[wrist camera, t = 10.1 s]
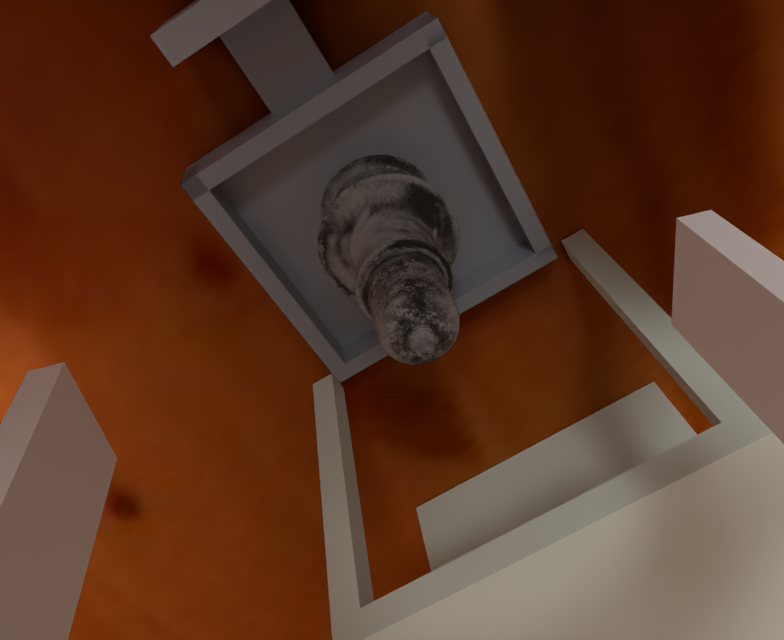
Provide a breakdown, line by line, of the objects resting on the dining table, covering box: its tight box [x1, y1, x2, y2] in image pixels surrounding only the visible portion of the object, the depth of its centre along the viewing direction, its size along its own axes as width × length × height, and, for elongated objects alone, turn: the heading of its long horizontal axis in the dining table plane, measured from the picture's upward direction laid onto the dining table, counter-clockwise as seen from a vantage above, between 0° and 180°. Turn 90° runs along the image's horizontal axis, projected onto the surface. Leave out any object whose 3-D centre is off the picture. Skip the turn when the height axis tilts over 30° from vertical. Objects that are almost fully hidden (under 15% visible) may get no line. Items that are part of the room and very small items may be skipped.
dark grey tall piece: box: [317, 155, 460, 365], centre depth 26 cm, size 6×6×12 cm
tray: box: [150, 0, 558, 383], centre depth 29 cm, size 17×12×4 cm
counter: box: [313, 229, 784, 640], centre depth 32 cm, size 12×16×16 cm
